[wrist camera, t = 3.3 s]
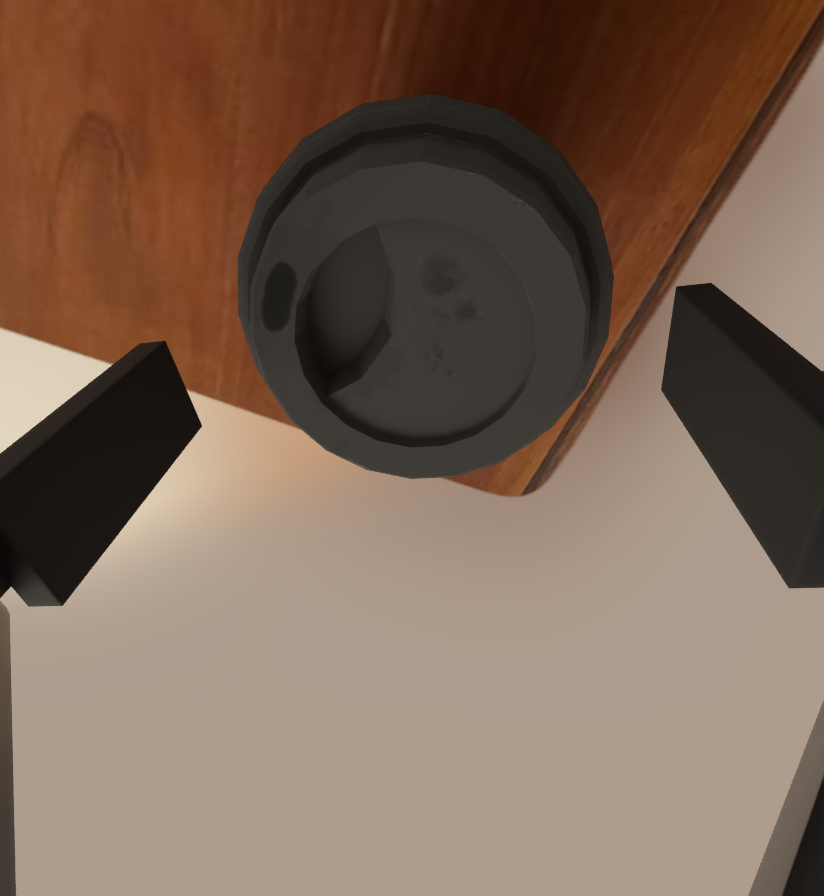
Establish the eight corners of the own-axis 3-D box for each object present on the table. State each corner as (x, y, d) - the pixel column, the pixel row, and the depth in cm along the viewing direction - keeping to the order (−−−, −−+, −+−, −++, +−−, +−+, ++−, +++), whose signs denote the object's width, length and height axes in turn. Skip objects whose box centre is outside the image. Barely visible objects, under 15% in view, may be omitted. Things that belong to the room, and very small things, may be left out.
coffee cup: (364, 42, 22) (240, -3, 10) (600, 147, 24) (739, 218, 12) (306, 287, 29) (188, 439, 17) (494, 358, 30) (512, 545, 18)
